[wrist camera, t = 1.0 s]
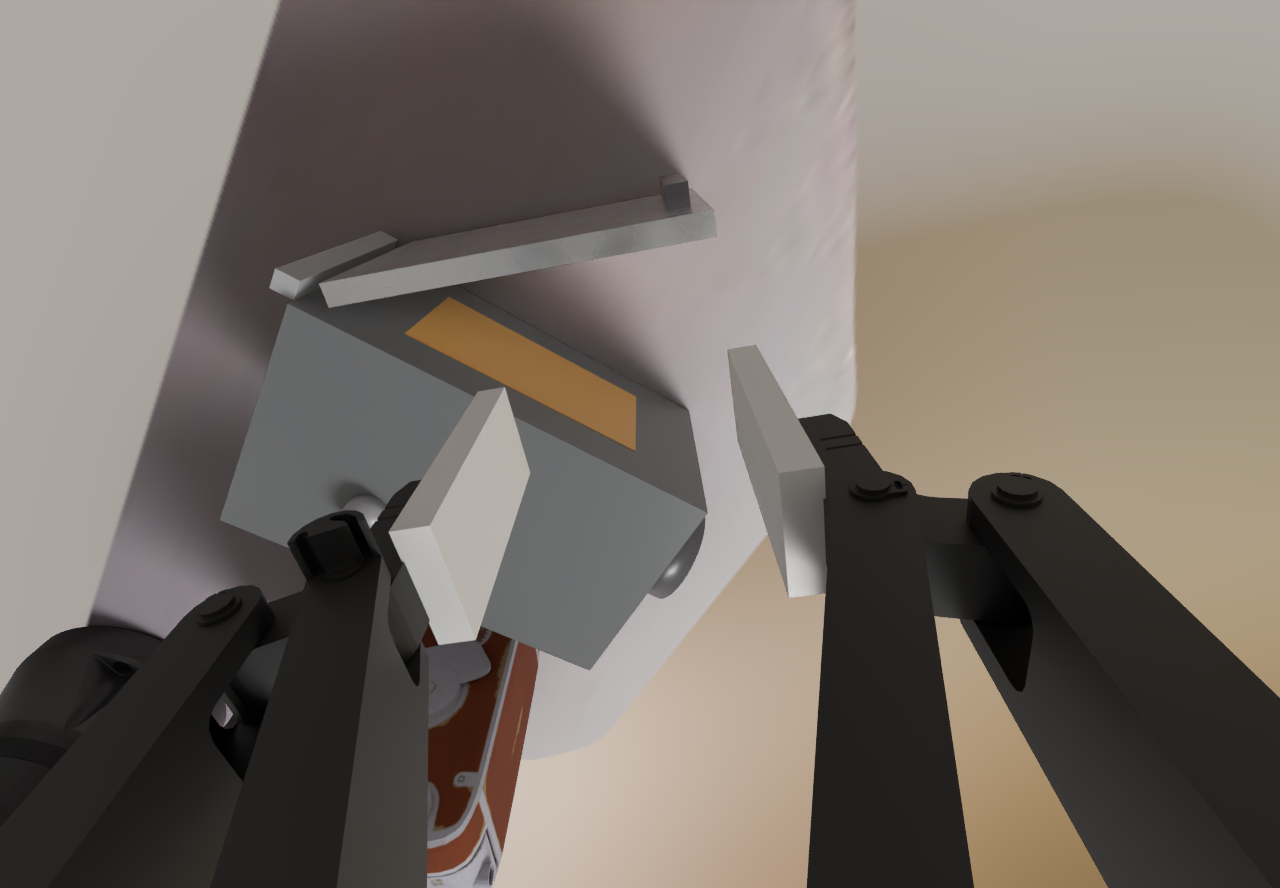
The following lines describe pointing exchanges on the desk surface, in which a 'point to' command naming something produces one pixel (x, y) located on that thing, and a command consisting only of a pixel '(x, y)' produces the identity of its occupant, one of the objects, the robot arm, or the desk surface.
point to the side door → (530, 245)
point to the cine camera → (474, 752)
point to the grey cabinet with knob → (423, 421)
